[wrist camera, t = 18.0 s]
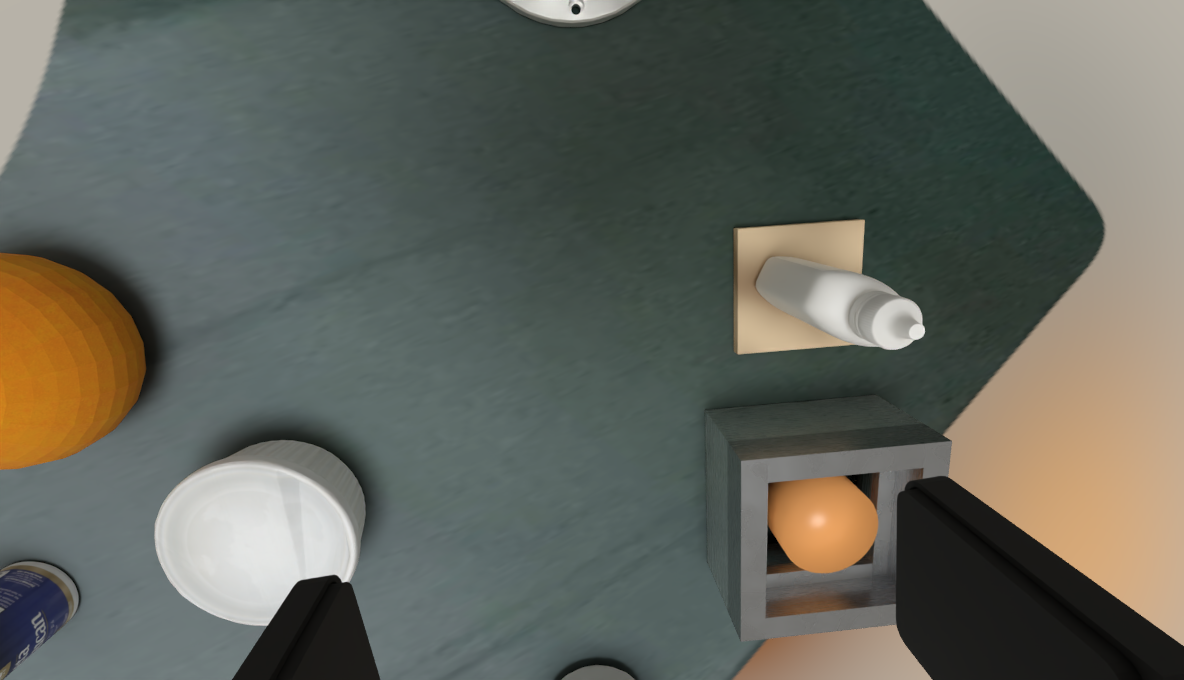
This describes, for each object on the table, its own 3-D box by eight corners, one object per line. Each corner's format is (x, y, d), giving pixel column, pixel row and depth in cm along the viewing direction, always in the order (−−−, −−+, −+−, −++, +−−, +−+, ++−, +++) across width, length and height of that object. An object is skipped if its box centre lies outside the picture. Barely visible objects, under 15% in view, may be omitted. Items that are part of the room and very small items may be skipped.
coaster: (733, 228, 35) (737, 229, 34) (857, 219, 35) (864, 219, 34) (733, 351, 37) (737, 354, 36) (851, 341, 37) (857, 344, 36)
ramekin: (415, 515, 38) (394, 564, 33) (290, 599, 39) (251, 660, 34) (302, 391, 36) (260, 424, 30) (171, 485, 37) (109, 532, 31)
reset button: (750, 449, 38) (783, 491, 33) (835, 441, 38) (881, 481, 33) (750, 526, 40) (780, 578, 34) (832, 518, 40) (875, 568, 35)
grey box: (704, 410, 38) (741, 460, 30) (879, 394, 38) (955, 440, 31) (707, 562, 41) (740, 641, 33) (868, 545, 41) (935, 620, 34)
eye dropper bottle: (801, 229, 34) (928, 247, 23) (847, 299, 36) (990, 349, 24) (743, 274, 35) (840, 314, 23) (792, 341, 36) (906, 410, 24)
